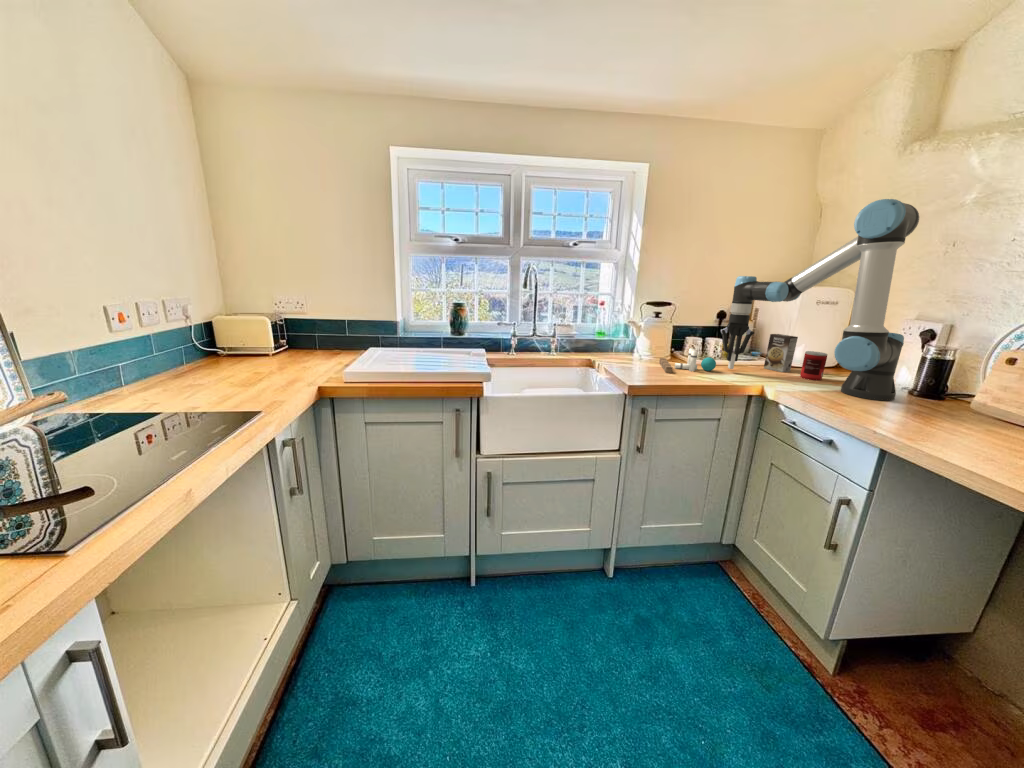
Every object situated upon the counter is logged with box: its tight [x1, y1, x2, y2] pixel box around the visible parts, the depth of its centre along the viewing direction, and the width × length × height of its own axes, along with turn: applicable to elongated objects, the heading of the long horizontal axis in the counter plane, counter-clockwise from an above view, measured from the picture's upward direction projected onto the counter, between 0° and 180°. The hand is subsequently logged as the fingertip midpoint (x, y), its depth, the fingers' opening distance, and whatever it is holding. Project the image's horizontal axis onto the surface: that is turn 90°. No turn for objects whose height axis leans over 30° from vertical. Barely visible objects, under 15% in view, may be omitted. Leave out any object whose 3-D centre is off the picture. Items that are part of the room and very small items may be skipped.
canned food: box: [799, 350, 828, 381], centre depth 172 cm, size 8×8×11 cm
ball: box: [700, 357, 717, 372], centre depth 181 cm, size 6×6×6 cm
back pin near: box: [688, 349, 699, 372], centre depth 179 cm, size 2×2×9 cm
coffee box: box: [763, 333, 799, 373], centre depth 187 cm, size 9×6×16 cm
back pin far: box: [686, 347, 696, 364], centre depth 184 cm, size 2×2×9 cm
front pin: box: [674, 362, 698, 371], centre depth 183 cm, size 2×2×9 cm
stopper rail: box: [658, 357, 673, 374], centre depth 184 cm, size 22×2×2 cm, turn 168°
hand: (730, 368), depth 179 cm, fingers closed
